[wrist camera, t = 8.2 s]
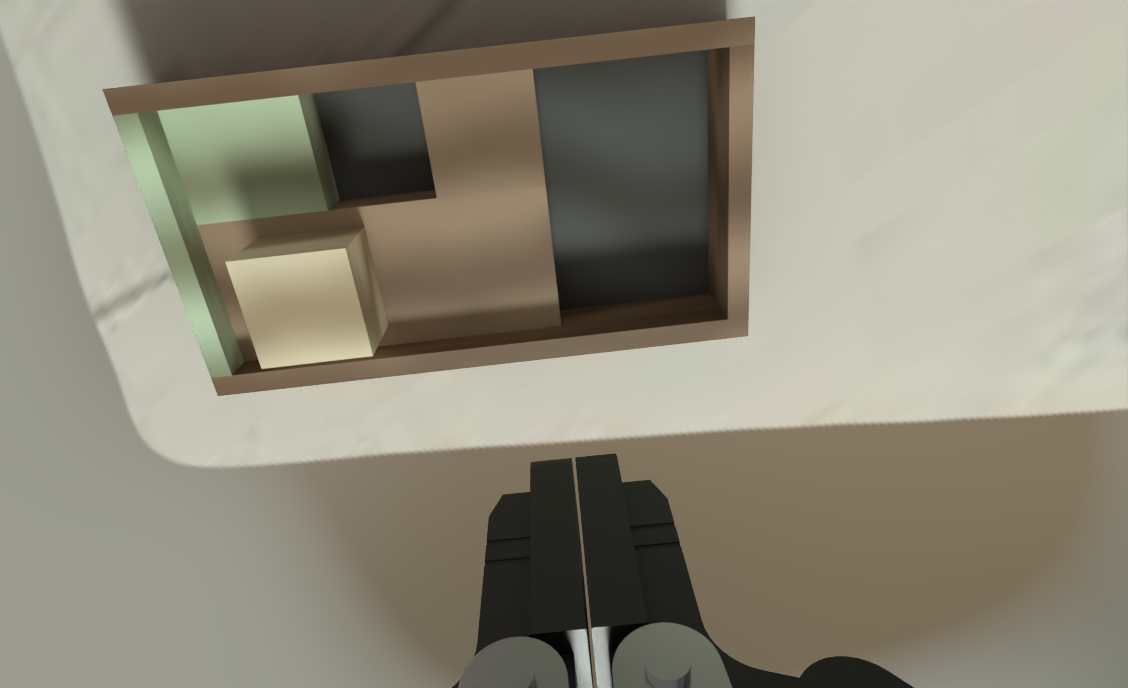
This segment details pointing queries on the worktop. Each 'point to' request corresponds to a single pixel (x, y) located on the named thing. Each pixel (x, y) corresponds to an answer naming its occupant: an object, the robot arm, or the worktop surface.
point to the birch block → (310, 297)
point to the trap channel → (469, 194)
